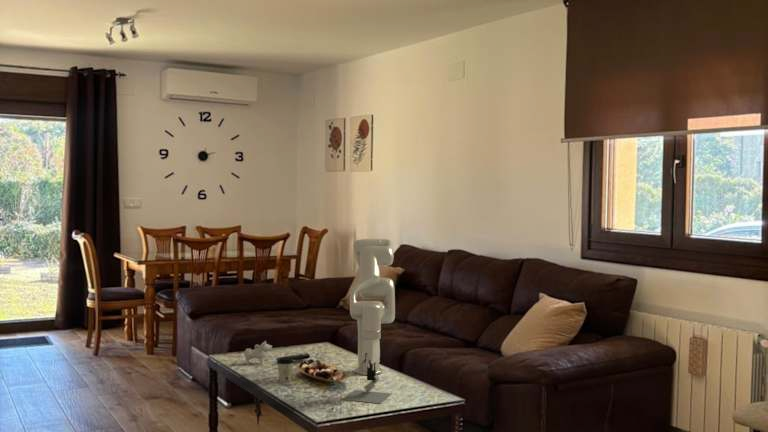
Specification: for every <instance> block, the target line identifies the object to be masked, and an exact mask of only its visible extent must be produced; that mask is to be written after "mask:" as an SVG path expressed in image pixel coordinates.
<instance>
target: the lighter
mask: <svg viewBox="0 0 768 432" xmlns="http://www.w3.org/2000/svg"><path fill="white" fill-rule="evenodd" d="M374 378H375V380H374V381H372V380H370V381H369V382H368V383H366V385H364V386H363V388H364V391H367V392H369V391H371V390H373V389H374V388H376V383H378V381H379V380H380V377H379V374H376V376H374ZM374 378H373V379H374Z"/></svg>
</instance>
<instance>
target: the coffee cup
mask: <svg viewBox="0 0 768 432" xmlns="http://www.w3.org/2000/svg"><path fill="white" fill-rule="evenodd" d="M293 364H294V360H293V359H292V358H291V357H289V356H288V357H287V356H283V357H280V358H279V359H278V360H277V367H278V376H279V382H280V383H281V384H289V383H291V382H292V377H293V376H292V373H293V367H294V366H293Z"/></svg>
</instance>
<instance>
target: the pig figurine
mask: <svg viewBox="0 0 768 432" xmlns="http://www.w3.org/2000/svg"><path fill="white" fill-rule="evenodd" d="M272 348H273V345H271V344H269V343H267V340H265V341H263V342H262V343H261V344H255V345H254V348H253V349H252V348H250V347H249V348H245V349H244V357H245V361H246V362H245V363H246V366H250V363H251V362H250V360H252V359H258V360H259V361H260V365H261V366H264V365H265V364H264V359H265V358H266V357H267V355H268V354H269V353H268V352H269V351H271V350H272Z"/></svg>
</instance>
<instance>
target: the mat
mask: <svg viewBox="0 0 768 432" xmlns="http://www.w3.org/2000/svg"><path fill="white" fill-rule="evenodd" d="M391 395H392V393H390V392H380V391H371V390H370V391H369V392H367V391H366V390H360V389H353V391H351V392H350V393H349V394H347V395H345V396H344V397H343V398H342V399H341V401H348V402H358V403H366V404H367V403H368V404H375V405H376V404H377V405H381V404H382V403H383V402H384V401H386V400H387V399H388V398H389V397H390V396H391Z"/></svg>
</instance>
